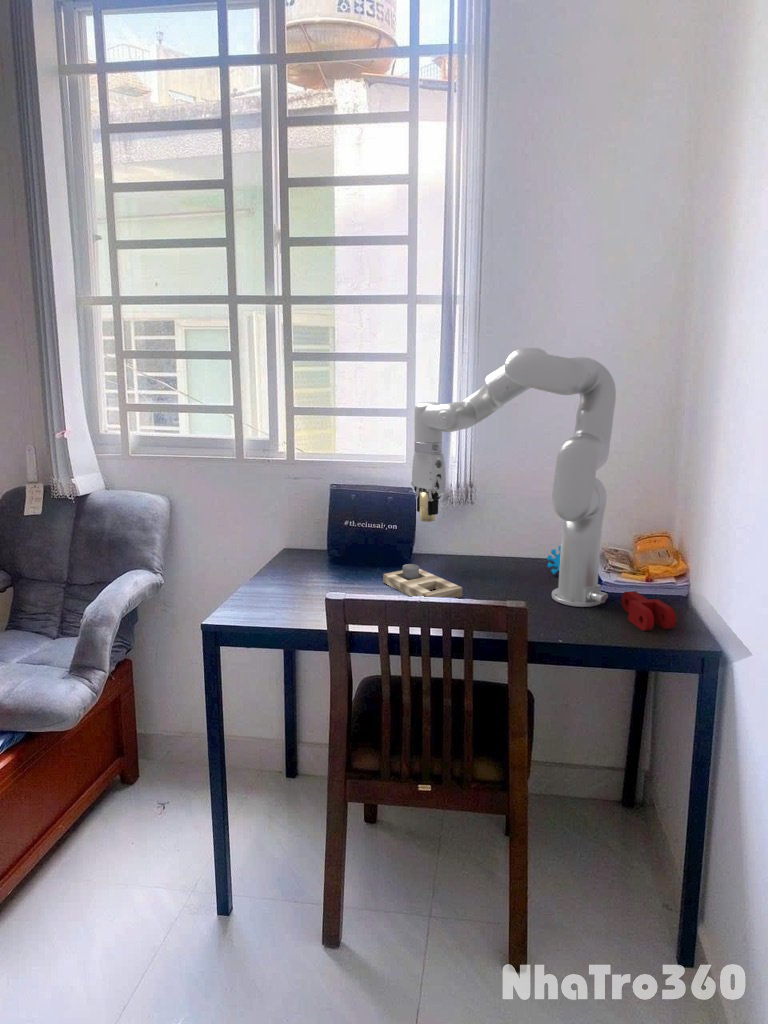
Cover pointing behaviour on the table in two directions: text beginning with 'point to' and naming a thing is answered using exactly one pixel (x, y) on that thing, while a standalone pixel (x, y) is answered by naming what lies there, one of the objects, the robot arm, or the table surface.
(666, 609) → the mechanical linkage
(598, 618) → the table surface
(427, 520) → the gold metallic cylinder
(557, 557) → the gear
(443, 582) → the jig
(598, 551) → the robot arm
